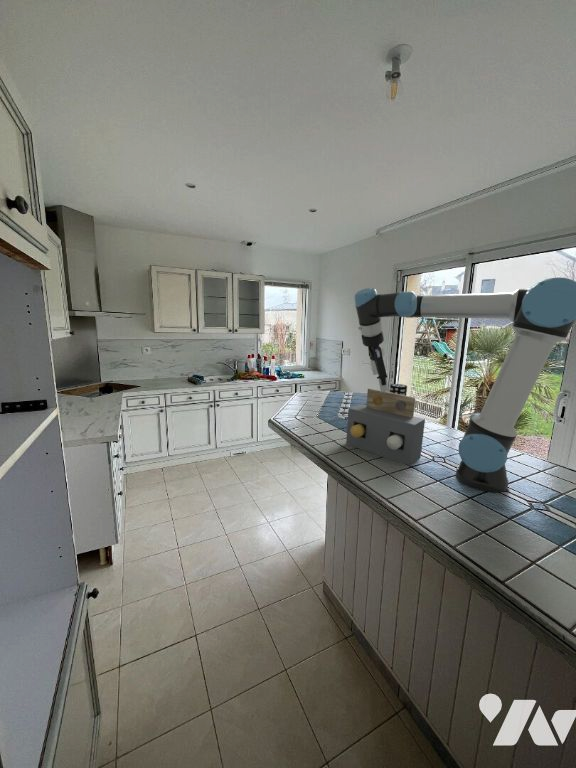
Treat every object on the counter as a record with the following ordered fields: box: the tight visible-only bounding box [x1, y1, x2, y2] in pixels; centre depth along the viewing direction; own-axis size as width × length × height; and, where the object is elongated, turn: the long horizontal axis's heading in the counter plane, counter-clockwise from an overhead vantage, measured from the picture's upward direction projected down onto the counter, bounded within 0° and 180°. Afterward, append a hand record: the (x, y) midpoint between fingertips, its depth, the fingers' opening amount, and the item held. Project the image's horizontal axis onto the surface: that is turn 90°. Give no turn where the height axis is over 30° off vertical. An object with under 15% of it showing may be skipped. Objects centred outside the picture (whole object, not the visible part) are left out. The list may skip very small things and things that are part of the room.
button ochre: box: [350, 424, 366, 438], centre depth 128 cm, size 4×5×5 cm
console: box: [345, 403, 426, 467], centre depth 127 cm, size 10×28×16 cm, turn 46°
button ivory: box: [387, 434, 404, 450], centre depth 117 cm, size 4×5×5 cm
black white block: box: [389, 383, 408, 396], centre depth 163 cm, size 8×8×20 cm
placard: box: [365, 388, 416, 418], centre depth 127 cm, size 1×20×8 cm, turn 46°
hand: (380, 382), depth 122 cm, fingers open, 13 cm apart
